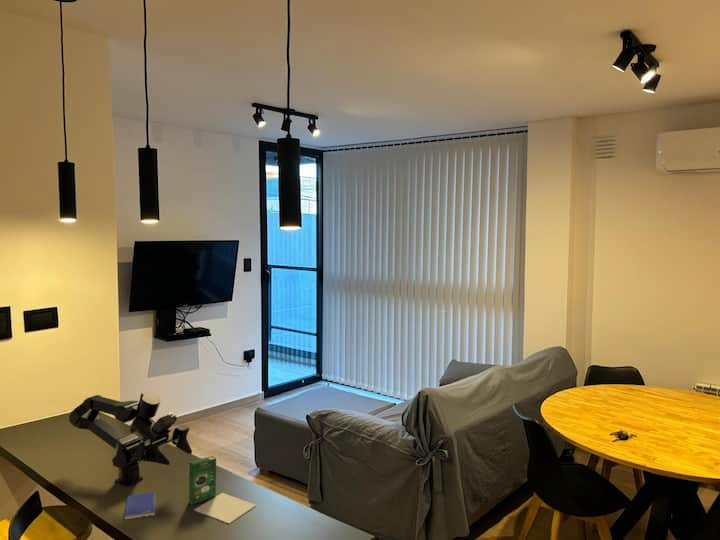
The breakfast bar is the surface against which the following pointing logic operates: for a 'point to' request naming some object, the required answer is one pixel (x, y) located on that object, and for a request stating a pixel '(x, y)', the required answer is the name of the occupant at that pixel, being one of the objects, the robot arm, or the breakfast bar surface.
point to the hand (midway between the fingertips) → (180, 458)
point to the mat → (225, 508)
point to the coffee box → (202, 480)
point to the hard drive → (140, 505)
